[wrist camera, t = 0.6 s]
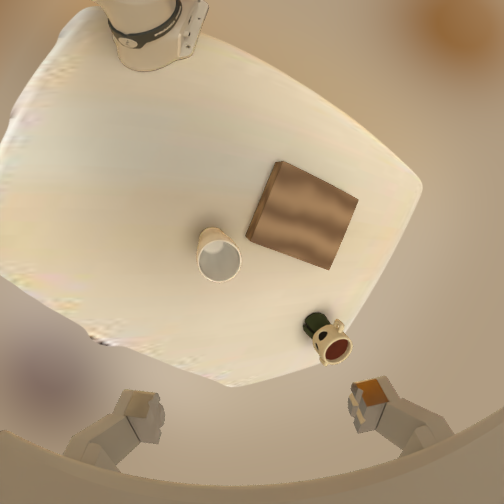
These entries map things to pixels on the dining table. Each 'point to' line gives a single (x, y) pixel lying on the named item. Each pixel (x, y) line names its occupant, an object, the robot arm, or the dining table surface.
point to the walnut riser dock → (301, 216)
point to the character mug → (328, 339)
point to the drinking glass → (217, 256)
